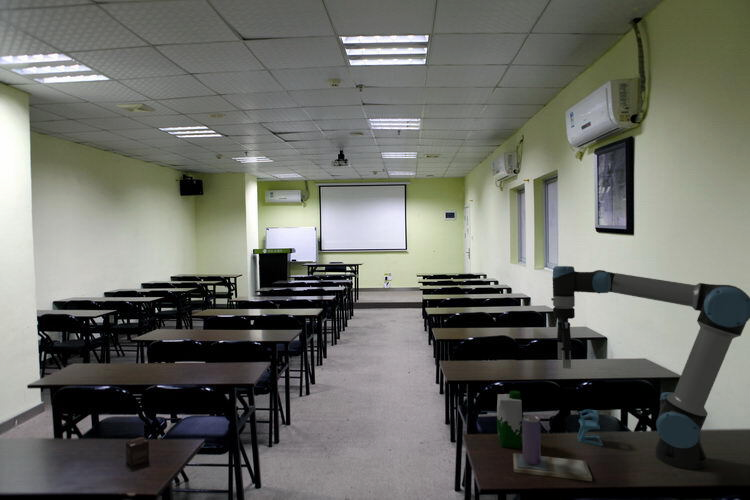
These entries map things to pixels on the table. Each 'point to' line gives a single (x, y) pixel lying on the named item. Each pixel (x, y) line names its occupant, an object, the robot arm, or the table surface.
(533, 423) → the beverage can
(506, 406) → the milk carton
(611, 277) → the robot arm
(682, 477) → the table surface
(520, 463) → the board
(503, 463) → the table surface
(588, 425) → the chair
